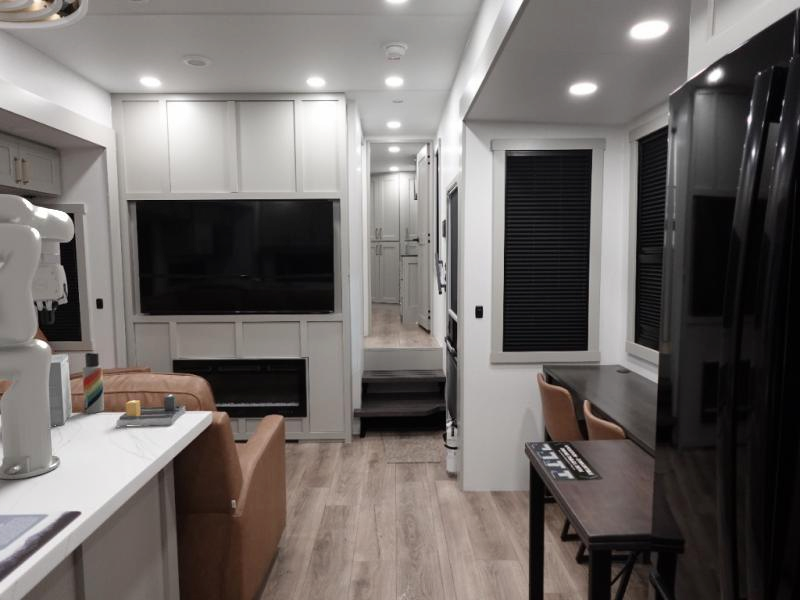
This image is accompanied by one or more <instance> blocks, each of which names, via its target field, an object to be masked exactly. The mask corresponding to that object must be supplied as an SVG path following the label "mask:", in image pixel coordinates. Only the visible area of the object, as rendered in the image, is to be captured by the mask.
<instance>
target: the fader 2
mask: <svg viewBox="0 0 800 600" xmlns="http://www.w3.org/2000/svg"><path fill="white" fill-rule="evenodd" d="M177 396H178V395H177V394H167V395H165V396H164V397H163V406H164V410H176V409H177V406H178V397H177Z"/></svg>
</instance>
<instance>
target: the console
mask: <svg viewBox="0 0 800 600" xmlns="http://www.w3.org/2000/svg"><path fill="white" fill-rule="evenodd" d="M185 413H187V412H186V406H185V405H177V409H176V410H164V405H161V406H140V415H139V416H126V412H125V413H124V414H123V413H122V414H121V415H120V416H119V417H118V419H117V420H116V427H117V426H127V425H158V426H173V425H174V424H175V423H176V422H177V421H178V420H179V419H180V418H181V417H182V416H184V414H185ZM180 416H181V417H180ZM179 417H180V418H179ZM178 418H179V419H178ZM177 419H178V420H177ZM176 420H177V421H176ZM175 421H176V422H175ZM174 422H175V423H174Z"/></svg>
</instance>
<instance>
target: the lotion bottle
mask: <svg viewBox="0 0 800 600" xmlns="http://www.w3.org/2000/svg"><path fill="white" fill-rule="evenodd" d="M84 357H85V360H84V361H85V366H83V367H82V381H83V382H82V384H83V386H82V387H83V388H82V389H83V407H84V413H86V414H96V413H101V412H103V411H104V410H105V401H104V397H105V395H104V378H103V372H104V371H103V366H102V365H100V359H99V353H92V352H87V353H85V355H84Z"/></svg>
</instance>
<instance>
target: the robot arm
mask: <svg viewBox="0 0 800 600" xmlns="http://www.w3.org/2000/svg"><path fill="white" fill-rule="evenodd" d="M74 234H75V225H74V222H73V219H72V218H71V217H70V216H69V214H67V213H66V212H63V211H60V210H57V209H51V208H46V207H43V206H37V205H34V204H32V203H31V202H30V200H29V201H28V200H27V199H26V198H24V197H21V196H19V195H17V194H16V195H15V194H9V193H8V194H7V193H6V194H5V193H0V264H1V263H2V265H1V266H0V382H3V381H4V382H5V381H6V382H7V381H12V384H11V385H10V386H9V387H8V388H7V389H6V390H5V391H4V393H3V394H2V395H1V398H0V422H1V423H0V424H1V426H0V427H1V437H2V439H1V440H2V442H1V444H2V457H3V458H1V460H2V464H1V465H0V479H2V480H19V479H25V478H31V477H36V476H39V475H43V474H45V473H49V472H50V471H52V470H54V469H55V470H56V468H57V467H59V466H60V464H61V458H60V457H59V456H57V455H53V446H52V445H53V443H52V429H51V428H52V426H51V423H50V404H49V373H50V365H51V356H52V355H53V354H52V349H51V347H50V345H49V344H48V343H47V342H46V341H45V340H41V339H39V338H35V337H36V334H37V332H38V319H37V318H38V317H37V314H36V308H37V310H38V311H40V322H41V324H42V325H52V324H55V319H56V317H55V316H56V315H55V311H56V310H57V308H58V307H59V306H60V305H63V304H67V303H68V299H67V298H68V283H67V276H66V272H65V269H64V265H61V249H60V243H69V242H71V240H72V239H73V238H74ZM35 307H36V308H35Z"/></svg>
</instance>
